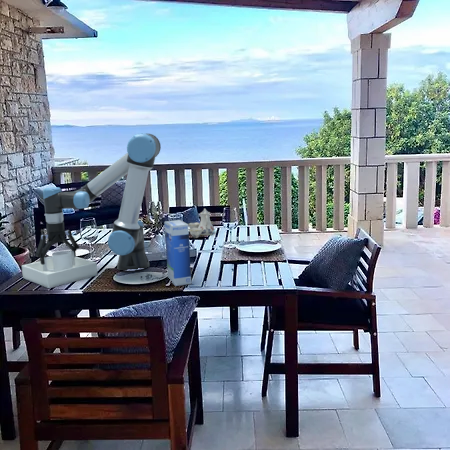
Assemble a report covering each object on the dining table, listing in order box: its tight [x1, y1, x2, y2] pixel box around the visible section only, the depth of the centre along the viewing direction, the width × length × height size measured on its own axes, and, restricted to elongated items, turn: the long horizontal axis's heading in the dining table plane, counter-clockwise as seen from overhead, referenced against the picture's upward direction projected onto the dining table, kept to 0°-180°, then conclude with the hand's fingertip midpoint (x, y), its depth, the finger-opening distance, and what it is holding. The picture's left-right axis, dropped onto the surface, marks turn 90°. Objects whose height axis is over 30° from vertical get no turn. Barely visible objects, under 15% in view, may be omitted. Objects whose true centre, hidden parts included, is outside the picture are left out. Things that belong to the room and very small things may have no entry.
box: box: [21, 256, 98, 289], centre depth 226 cm, size 24×24×6 cm
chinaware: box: [187, 208, 215, 239], centre depth 307 cm, size 28×17×17 cm, turn 11°
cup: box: [46, 250, 73, 272], centre depth 225 cm, size 8×12×10 cm
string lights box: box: [164, 219, 192, 287], centre depth 211 cm, size 13×8×26 cm, turn 21°
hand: (59, 267), depth 225 cm, fingers open, 13 cm apart
